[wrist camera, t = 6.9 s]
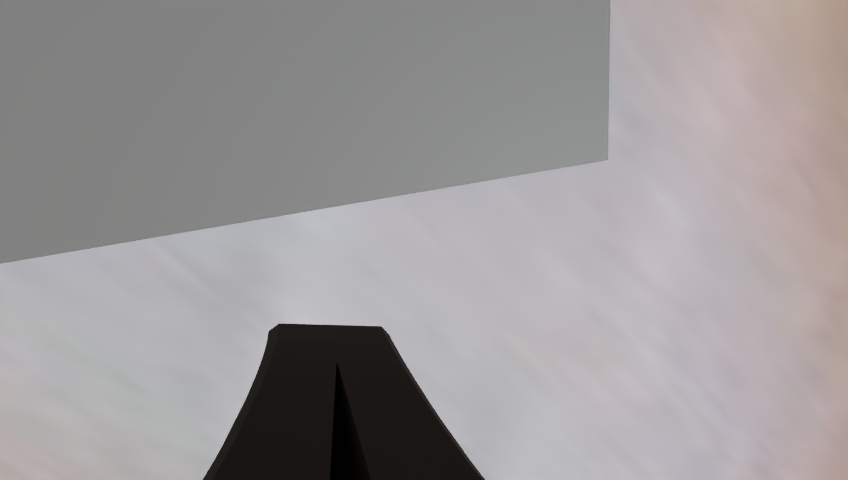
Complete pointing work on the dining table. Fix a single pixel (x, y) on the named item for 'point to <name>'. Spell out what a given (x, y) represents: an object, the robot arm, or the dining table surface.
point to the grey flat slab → (279, 107)
